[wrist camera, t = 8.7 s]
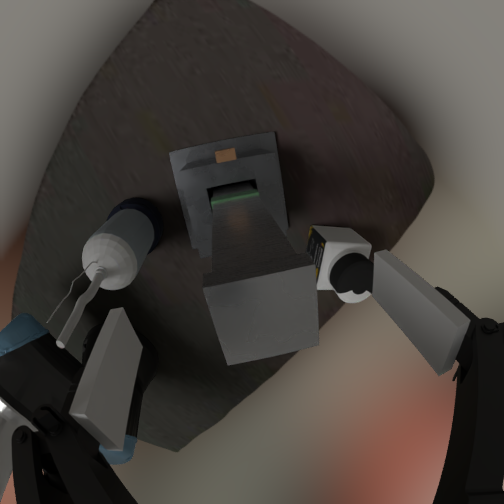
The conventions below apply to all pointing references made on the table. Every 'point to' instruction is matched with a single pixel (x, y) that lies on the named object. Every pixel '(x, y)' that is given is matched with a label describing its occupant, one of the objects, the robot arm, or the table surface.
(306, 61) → the table surface
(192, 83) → the table surface
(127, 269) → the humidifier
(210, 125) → the table surface
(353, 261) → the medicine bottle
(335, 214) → the table surface
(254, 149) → the stand housing
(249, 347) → the column
